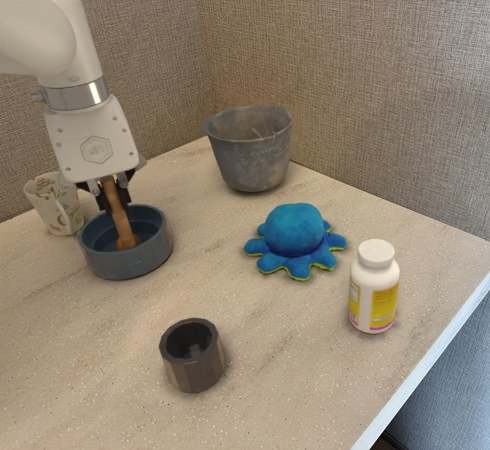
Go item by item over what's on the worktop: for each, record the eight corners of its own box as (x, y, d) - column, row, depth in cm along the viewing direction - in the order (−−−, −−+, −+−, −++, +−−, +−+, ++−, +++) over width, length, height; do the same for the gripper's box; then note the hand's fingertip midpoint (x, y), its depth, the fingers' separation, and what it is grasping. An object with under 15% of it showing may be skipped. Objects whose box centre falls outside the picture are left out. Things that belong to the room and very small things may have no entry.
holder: (177, 403, 54) (167, 374, 51) (163, 360, 60) (153, 330, 56) (232, 378, 57) (226, 349, 54) (214, 339, 62) (207, 309, 59)
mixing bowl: (95, 293, 71) (83, 265, 67) (85, 245, 81) (74, 218, 77) (182, 263, 76) (175, 236, 72) (162, 222, 86) (155, 196, 82)
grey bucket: (287, 212, 87) (283, 142, 78) (202, 206, 90) (189, 138, 81) (301, 168, 101) (299, 104, 92) (227, 164, 104) (218, 102, 95)
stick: (126, 257, 72) (100, 183, 64) (124, 250, 73) (98, 177, 65) (139, 253, 73) (114, 179, 64) (136, 246, 74) (112, 173, 66)
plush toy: (276, 295, 69) (272, 254, 64) (232, 239, 81) (226, 201, 76) (362, 257, 75) (365, 217, 70) (310, 210, 87) (309, 173, 82)
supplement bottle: (400, 311, 65) (410, 243, 58) (384, 342, 61) (392, 273, 53) (359, 295, 68) (363, 228, 61) (340, 324, 64) (341, 256, 56)
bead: (122, 263, 75) (115, 245, 73) (118, 250, 78) (111, 232, 76) (145, 256, 77) (139, 237, 75) (141, 243, 80) (135, 225, 77)
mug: (82, 209, 91) (65, 166, 85) (104, 237, 83) (87, 192, 77) (39, 226, 86) (18, 182, 81) (58, 257, 78) (36, 210, 73)
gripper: (8, 115, 52) (64, 239, 63) (145, 89, 57) (174, 206, 68) (8, 96, 57) (60, 213, 68) (133, 73, 63) (162, 185, 74)
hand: (117, 209), depth 68 cm, fingers closed on stick, 2 cm apart
